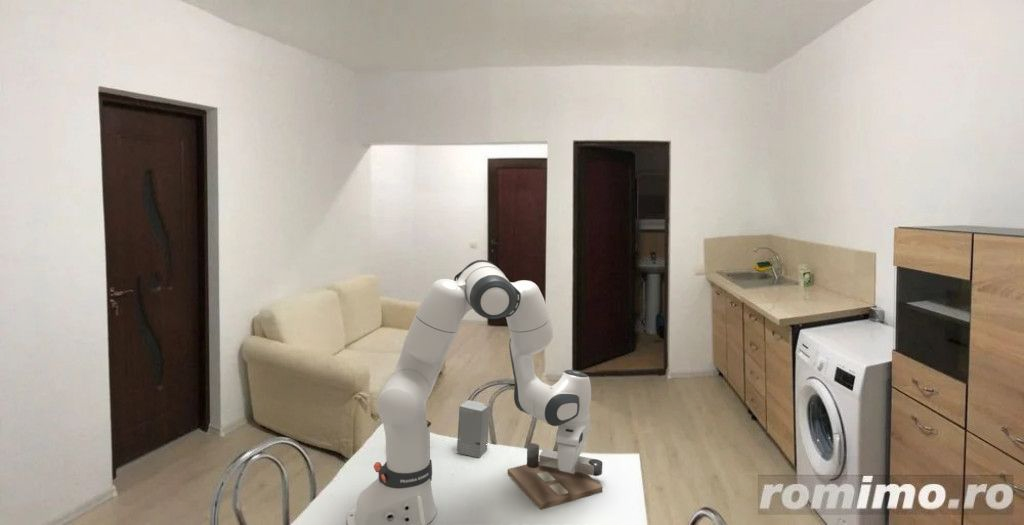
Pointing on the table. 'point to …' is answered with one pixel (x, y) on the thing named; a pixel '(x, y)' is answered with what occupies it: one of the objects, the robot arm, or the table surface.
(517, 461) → the table surface
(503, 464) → the table surface
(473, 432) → the skincare box
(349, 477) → the table surface
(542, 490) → the label board
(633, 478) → the table surface
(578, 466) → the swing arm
